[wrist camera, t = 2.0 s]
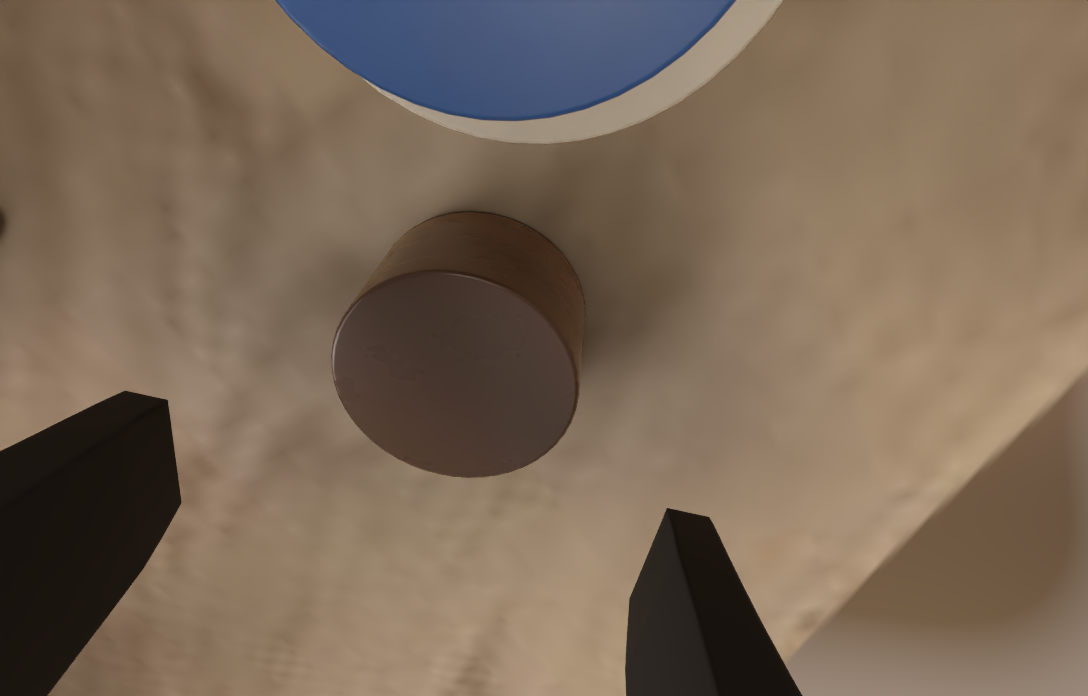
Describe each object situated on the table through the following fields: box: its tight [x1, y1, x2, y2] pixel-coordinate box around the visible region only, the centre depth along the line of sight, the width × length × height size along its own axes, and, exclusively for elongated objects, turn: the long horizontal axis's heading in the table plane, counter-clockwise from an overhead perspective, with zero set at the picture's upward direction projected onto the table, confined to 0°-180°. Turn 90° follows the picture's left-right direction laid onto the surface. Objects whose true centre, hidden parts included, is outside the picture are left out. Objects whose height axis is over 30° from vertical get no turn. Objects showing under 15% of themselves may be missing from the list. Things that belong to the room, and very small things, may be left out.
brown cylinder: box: [331, 212, 586, 478], centre depth 14 cm, size 5×5×3 cm
